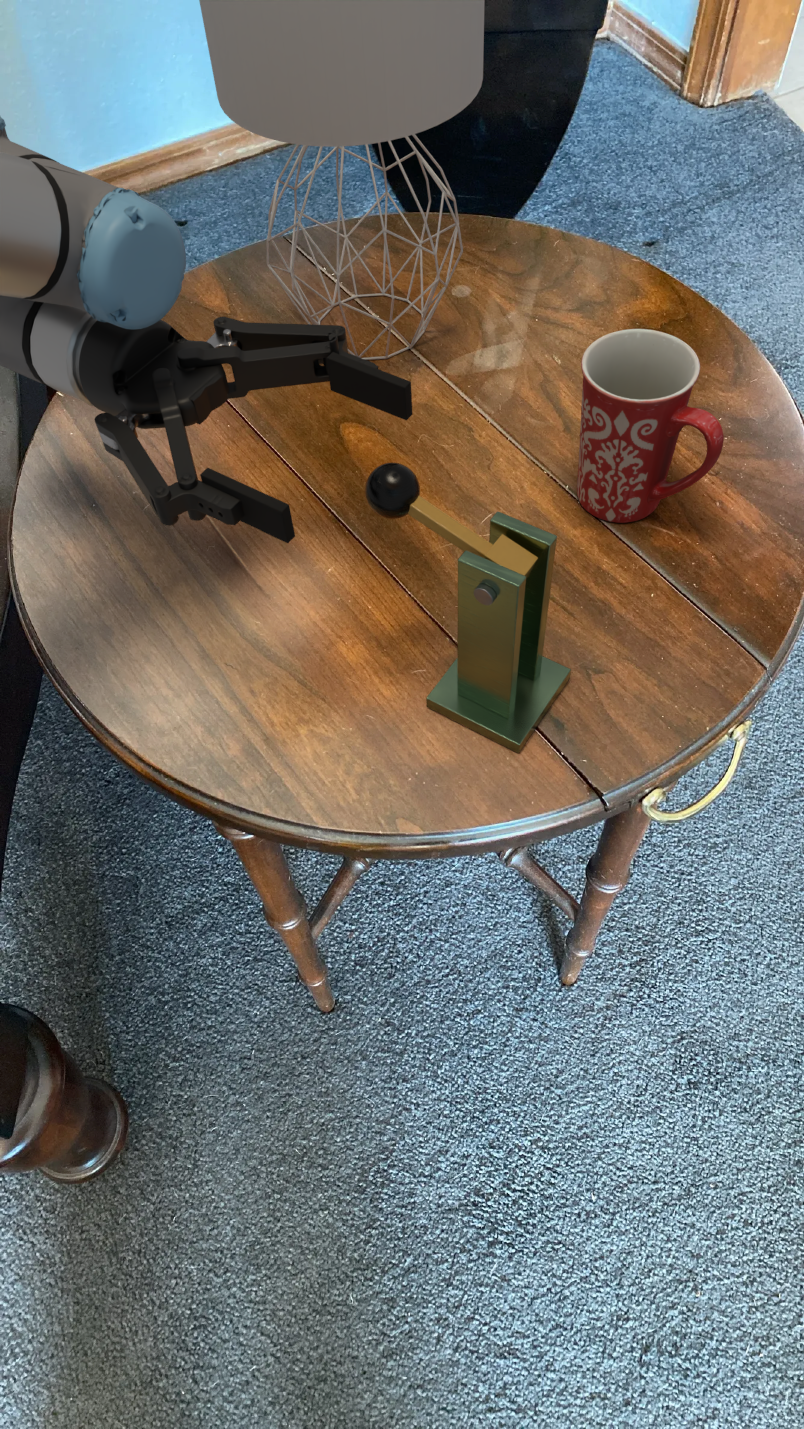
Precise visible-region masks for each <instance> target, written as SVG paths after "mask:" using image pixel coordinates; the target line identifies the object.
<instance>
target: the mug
mask: <svg viewBox="0 0 804 1429" xmlns="http://www.w3.org/2000/svg"><path fill="white" fill-rule="evenodd" d="M580 368H581V373H582V391H581V406H580V428H579V448H578V463H577V464H578V466H577V479H576V494H577V499H578V502H579V503H580V506H582V508H583V509H584V510H585V511H587V512H588V513H589V514H590V515H592V516H593V517H596V518H598V519H600V520H603V521H606V522H610V523H618V524H620V523H621V524H623V523H625V524H627V523H631V522H637V521H640V520H642V519H644V518H647V517H648V516H650V515H651V514H652V513H653V512H654V511H656V509H657V508H658V506H659V504H660V502H661V500H664V499H666V498H668V497H672V496H674V495H677V494H678V493H680V492H682V491H684V490H686V489H688V488H690V487H691V486H693V485H695V484H696V483H698V482H699V481H700V480H701V479H703V478H704V477H705V476H706V475H707V474H708V473H709V472H710V471H711V469H713V467H714V466H715V465H716V463H717V462H718V460H719V458H720V456H721V454H722V451H723V447H724V438H725V437H724V431H723V427H722V425H721V423H720V421H719V420H718V419H717V418H716V416H714V415H713V414H712V413H711V412H709V411H707V410H705V409H703V408H698V407H691V406H688V405H689V403H690V402H689V401H690V399H691V395H692V391H693V388H694V386H695V384H696V383H697V381H698V379H699V377H700V373H701V362H700V359H699V357H698V355H697V353H696V351H695V350H694V349H693V348H692V347H691V346H690V345H689V344H687V343H686V342H685V341H683V340H682V339H681V338H679V337H677V336H675V335H673V334H669V333H667V332H663V331H659V330H654V329H647V328H629V329H621V330H616V331H613V332H610V333H607V334H604V335H603V336H600V337H599V338H597V339H595V340H594V341H592V343H590V344H589V345H588V346H587V348H586V349H585V350H584V352H583V354H582V357H581V361H580ZM687 426H690V427H693V428H695V429H697V430H698V431H699V432H700V433H701V435H703V438H704V440H705V443H706V453H705V458H704V460H703V463H702V464H701V465H700V466H699V467H698V468H697V469H696V470H694V471H693V472H691V473H689V474H687V475H686V476H683V477H682V478H680V479H679V478H678V479H677V480H674V481H667V478H668V474H669V471H670V469H671V468H670V467H671V464H672V460H673V456H674V453H675V452H676V447H677V443H678V439H679V436H680V432H682V430H683V429H684V428H685V427H687Z"/></svg>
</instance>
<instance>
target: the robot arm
mask: <svg viewBox="0 0 804 1429" xmlns="http://www.w3.org/2000/svg"><path fill="white" fill-rule="evenodd" d="M6 127H7V125H6V121H5V119H4V118H2V117H1V116H0V367H2V368H5V369H7V370H9V371H12V372H13V373H16V374H18V375H21V376H23V377H25V378H28V379H30V380H32V381H35V382H36V383H39V384H42V385H44V386H47V387H49V388H52V389H53V390H55V391H57V392H60V393H62V394H64V395H66V396H68V397H71V398H73V399H75V400H77V401H80V402H82V403H84V404H85V405H89V406H91V407H92V406H93V407H94V408H95V409H97V410H99V411H101V413H98V414H97V415H96V416H95V417H94V424H95V426H96V428H97V430H98V433H99V436H100V439H101V441H102V444H103V447H104V450H105V451H106V452H107V453H109V454H110V455H112V456H114V457H115V458H117V459H118V460H120V461H122V462H123V464H124V466H125V467H126V468H127V470H128V472H129V473H130V475H131V477H132V479H133V480H134V481H135V484H136V485H137V487H138V488H139V489H140V491H141V493H142V494H143V496H144V498H145V499H146V501H147V502H148V505H149V506H150V507H151V509H152V510H153V512H154V515H155V516H156V517H157V519H158V520H159V522H160V524H162V525H163V526H167V527H168V526H169V527H170V526H172V525H175V524H176V523H178V521H179V518H180V517H179V516H180V515H182V514H184V513H187V516H188V518H189V519H190V520H191V521H194V522H197V521H201V520H203V519H205V518H206V516H208V517H210V518H212V519H214V520H216V521H218V522H220V523H222V524H225V525H228V526H237V524H238V523H239V522H241V523H244V524H246V525H248V526H250V527H252V528H255V529H256V530H259V531H260V532H263V533H265V534H267V535H269V536H271V537H273V538H275V539H277V540H279V541H281V542H284V543H286V544H289V543H290V542H291V541H292V540H293V539H294V538H295V537H296V534H295V529H294V523H293V519H292V518H293V517H292V513H291V512H292V511H291V507H290V504H288V503H286V502H284V501H282V500H280V499H278V498H276V497H273V496H272V495H269V494H267V493H265V492H262V491H260V490H258V489H256V488H254V487H251V486H249V485H248V484H245V483H243V482H241V481H238V480H236V479H234V478H232V477H229V476H227V475H225V474H223V473H221V472H219V471H217V470H214V469H212V468H210V467H206V468H205V469H204V470H203V471H202V472H201V473H200V474H199V476H200V479H201V480H200V479H199V478H198V473H197V469H196V466H195V462H194V458H193V454H192V453H193V452H192V450H191V444H190V440H189V437H188V432H187V429H186V427H190V426H194V425H195V424H197V425H202V423H204V422H205V421H206V420H208V418H209V416H210V415H211V413H212V412H213V411H215V410H217V409H218V408H220V407H221V406H223V405H224V404H225V403H227V401H228V400H230V399H231V400H232V399H239V398H244V397H246V396H247V395H248V393H249V392H250V391H256V390H266V389H274V388H284V387H293V386H302V385H311V384H318V383H327V382H329V388H330V391H331V392H334V393H336V394H339V395H341V396H344V397H347V398H349V399H352V400H354V401H356V402H359V403H362V404H364V405H366V406H369V407H371V408H374V409H377V410H378V411H382V412H384V413H387V414H389V415H392V416H393V417H397V418H399V419H401V420H405V421H407V422H408V420H409V419H410V418H411V417H412V415H413V398H412V395H413V394H412V393H413V392H412V382H411V380H408V379H405V378H402V377H400V376H397V375H395V374H392V373H390V372H387V371H384V370H381V369H379V366H378V365H377V364H376V363H374V362H372V361H371V360H365V359H362V358H363V357H361V358H360V357H357V356H354V355H352V354H350V353H349V352H348V349H349V348H348V340H347V339H348V338H347V329H346V327H344V326H343V325H336V324H320V325H312V324H311V323H310V324H311V325H310V324H307V323H305V324H303V323H276V322H275V323H274V322H249V321H248V322H246V321H242V320H238V319H235V318H230V317H228V316H218V317H216V318H215V319H214V320H213V328H214V333H213V334H212V335H211V336H210V337H209V338H208V339H207V340H206V341H204V340H190V339H187V338H186V337H184V336H183V335H181V333H180V332H178V330H177V329H175V328H174V327H173V326H172V325H170V324H169V323H168V322H166V321H164V320H163V318H164V317H165V316H166V315H167V314H168V313H169V312H170V311H171V310H172V308H173V306H174V305H175V303H176V302H177V300H178V298H179V296H180V295H181V294H180V293H181V292H182V288H183V287H182V286H183V281H184V279H185V272H186V269H187V253H186V246H185V242H184V239H183V238H184V237H183V235H182V232H181V230H180V229H179V226H178V225H177V223H176V222H175V220H174V218H173V217H172V216H171V215H170V213H168V212H167V211H166V210H165V209H163V208H162V207H161V206H159V205H158V204H156V203H153V202H151V201H149V200H148V199H146V198H144V197H142V196H140V194H139V193H138V192H137V191H134V190H132V189H130V188H129V189H128V188H127V189H126V188H123V187H118V186H116V185H114V184H111V183H109V182H106V181H104V180H102V179H99V178H98V177H95V176H93V175H90V174H88V173H85V172H82V171H80V170H78V169H75V168H73V167H70V166H68V165H65V164H63V163H61V162H58V161H57V160H55V159H53V158H51V157H49V156H46V155H45V154H42V153H39V152H37V151H35V150H33V149H30V148H28V147H26V146H23V145H21V144H19V143H17V142H14V141H11V140H10V139H9V137H8V133H7V130H6ZM223 365H229V366H230V367H231V370H232V376H233V380H234V381H230V382H228V378H227V374H226V373H227V372H226V371H225V368H224V367H223ZM137 429H141V430H150V429H151V430H152V429H165V433H166V438H167V442H168V446H169V450H170V454H171V458H172V459H171V460H172V464H173V467H174V472H175V476H176V480H177V481H176V482H174V483H172V484H170V485H168V483H167V482H166V480H165V479H164V477H163V476H162V474H161V473H160V472H159V470H158V468H157V467H156V464H155V462H153V460H152V458H151V457H150V456H149V454H148V452H147V451H146V449H145V448H144V446H143V445H142V443H141V442H140V440H139V434H138V432H137Z"/></svg>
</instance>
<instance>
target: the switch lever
mask: <svg viewBox="0 0 804 1429" xmlns="http://www.w3.org/2000/svg"><path fill="white" fill-rule="evenodd" d="M364 496H365V500H366V502H367V504H368V506H369V508H370V509H371V510H372V511H373V512H374V513H375V514H376V515H377V516H379V517H381V518H383V519H387V520H398V519H401V518H404V517H406V516H410V517H411V518H413V519H414V520H415V521H417V522H419V523H420V524H422V525H423V526H425V527H426V528H428V529H429V530H431V531H432V532H434V533H435V534H437V535H438V536H440V537H441V538H443V539H444V540H446V541H447V542H449V543H450V544H452V545H453V546H454V547H456V548H458V549H459V550H461V551H462V552H464V551H465V550H467V551H469V552H471V553H474V554H476V555H478V556H481V557H483V558H485V559H487V560H490V561H492V562H494V563H497V564H499V565H501V566H503V567H506V568H508V569H510V570H513V571H515V572H517V573H520V574H522V575H524V576H526V579H527V578H528V576H529V574H530V572H531V570H532V568H533V567H534V565H535V563H536V561H537V559H538V557H536V556H535V555H533V554H532V553H530V552H529V551H527V550H526V549H524V548H523V547H521V546H520V545H518V544H517V543H515V542H514V541H512V540H511V539H509V538H508V537H506V536H505V535H503V534H501V536H500V537H499V538H498V539H497V541H496V542H495V543H494V544H491V543H490V542H489V540H487V539H485V537H483V536H481V535H479V533H477V532H476V531H473V530H472V529H471V528H469V527H467V525H464V524H463V523H461V522H460V521H458V520H457V519H455V518H454V517H452V516H451V515H449V514H448V513H446V512H444V511H443V510H442V509H440V508H439V507H437V506H435V505H434V504H433V503H431V502H430V501H428V500H427V499H425V498H424V497H422V496H421V485H420V482H419V479H418V477H417V475H416V474H415V473H414V472H413V470H412V469H410V467H408V466H406V465H404V464H402V463H399V462H386V463H382V464H380V465H378V466H377V467H375V468H374V469H372V471H371V472H370V474H369V475H368V477H367V479H366V482H365V485H364Z"/></svg>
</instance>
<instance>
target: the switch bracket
mask: <svg viewBox="0 0 804 1429" xmlns="http://www.w3.org/2000/svg"><path fill="white" fill-rule="evenodd" d="M501 534H503V535H505V536H506V537H508V538H509V539H511V540H512V541H514V542H515V543H517V544H518V545H520V546H521V547H523V548H524V549H526V550H527V551H529V552H530V553H532V554H533V555H535V556H536V557H538V559H537V561H536V563H535V565H534V567H533V568H532V570H531V572H530V574H529V576H528V578H527V579H526V576H524V575H522V574H520V573H517V572H515V571H513V570H510V569H508V568H506V567H503V566H501V565H499V564H497V563H494V562H492V561H490V560H487V559H485V558H483V557H481V556H478V555H476V554H474V553H471V552H469V551H467V550H465V551H463V553H461V555H460V556H459V558H457V657H456V658H455V660H454V661H453V663H451V665H450V666H449V668H447V670H446V671H445V673H444V674H443V675H442V677H441V678H440V679H439V681H437V683H436V685H435V686H434V687H433V688H432V689H431V691H430V692H429V694H428V695H427V696H426V699H425V700H426V701H425V702H426V707H427V708H428V709H430V710H432V711H434V712H436V713H437V714H440V715H442V716H444V717H446V718H448V719H450V720H451V721H454V722H456V723H458V724H460V725H462V726H464V727H465V728H468V729H469V730H471V731H473V732H476V733H477V734H479V735H480V736H483V737H485V738H487V739H489V740H492V742H494V743H497V744H499V745H500V746H503V747H505V748H507V749H509V750H511V751H513V752H515V753H517V754H520V753H521V751H522V750H523V748H524V747H525V746H526V744H527V742H528V741H529V739H530V738H531V736H532V735H533V733H534V732H535V731H536V729H537V727H538V726H539V725H540V723H541V722H542V720H543V718H544V717H545V716H546V714H547V713H548V711H549V710H550V709H551V707H552V705H553V704H554V703H555V701H556V700H557V698H558V696H559V695H560V693H561V692H562V690H563V689H564V688H565V686H566V684H568V682H569V680H570V678H571V674H572V669H571V668H569V667H568V666H566V665H563V664H561V663H559V662H557V661H555V660H553V659H550V658H548V657H546V656H543V655H544V647H545V640H546V639H545V638H546V630H547V623H548V614H549V606H550V597H551V590H552V581H553V573H554V565H555V557H556V556H555V555H556V549H557V540H558V535H557V534H554V533H551V532H549V531H546V530H544V529H542V528H540V527H537V526H535V525H533V524H530V523H527V522H525V521H522V520H520V519H518V518H515V517H513V516H511V515H509V514H506V513H503V512H501V511H496V512H495V513H494V515H493V516H492V517H491V518H490V519H489V535H488V536H489V538H488V539H489V540H488V542H490V543H491V544H494V543H495V542H496V541H497V539H498V538H499V537H500V536H501Z"/></svg>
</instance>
